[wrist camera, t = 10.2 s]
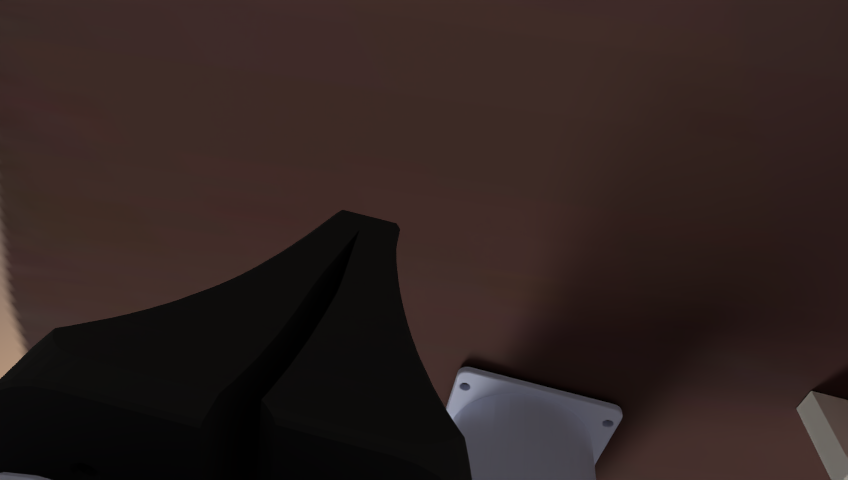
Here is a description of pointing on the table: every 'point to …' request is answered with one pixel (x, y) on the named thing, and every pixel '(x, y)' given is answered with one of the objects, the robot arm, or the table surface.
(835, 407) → the box
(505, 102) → the table surface
